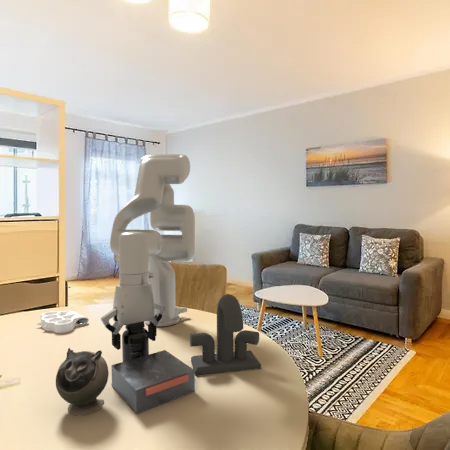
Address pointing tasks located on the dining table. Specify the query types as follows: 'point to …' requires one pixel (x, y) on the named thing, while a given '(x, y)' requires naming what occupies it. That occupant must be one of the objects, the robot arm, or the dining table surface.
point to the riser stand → (152, 380)
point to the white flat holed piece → (61, 321)
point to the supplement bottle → (135, 341)
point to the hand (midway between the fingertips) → (135, 343)
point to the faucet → (225, 342)
